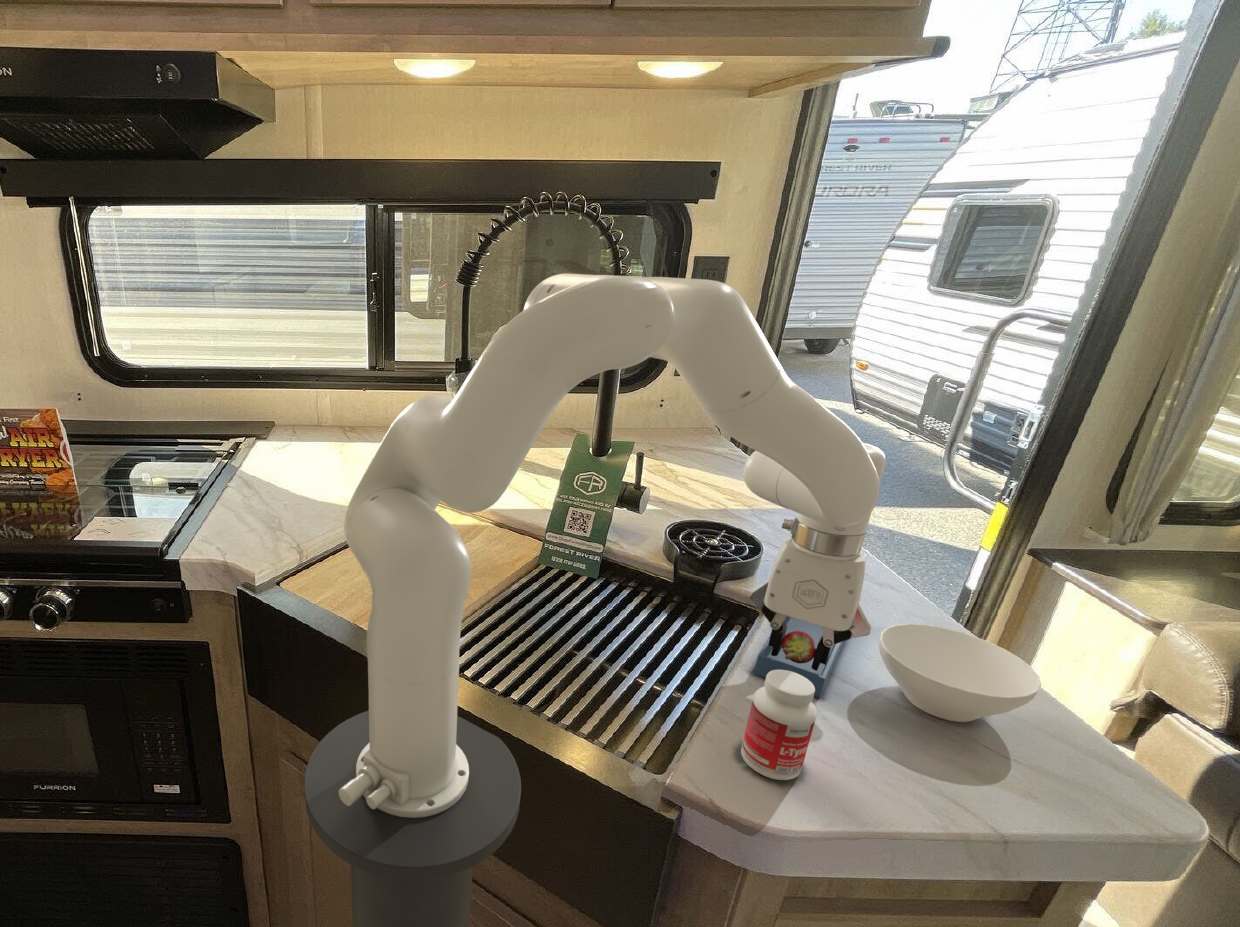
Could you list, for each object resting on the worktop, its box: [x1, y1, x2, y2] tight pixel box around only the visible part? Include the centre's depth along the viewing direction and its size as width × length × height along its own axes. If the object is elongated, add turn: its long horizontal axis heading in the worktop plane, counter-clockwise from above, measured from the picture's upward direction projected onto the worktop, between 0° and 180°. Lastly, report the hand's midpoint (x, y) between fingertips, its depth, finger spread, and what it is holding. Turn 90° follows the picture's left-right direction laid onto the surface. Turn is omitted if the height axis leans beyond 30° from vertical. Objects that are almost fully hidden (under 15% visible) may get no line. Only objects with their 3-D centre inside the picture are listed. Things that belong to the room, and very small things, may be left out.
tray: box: [753, 616, 845, 699], centre depth 97 cm, size 26×8×3 cm, turn 139°
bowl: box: [878, 623, 1042, 723], centre depth 84 cm, size 16×16×7 cm
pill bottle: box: [740, 670, 818, 781], centre depth 73 cm, size 6×6×11 cm
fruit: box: [781, 630, 816, 664], centre depth 90 cm, size 4×6×5 cm
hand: (796, 657), depth 90 cm, fingers closed on fruit, 4 cm apart
